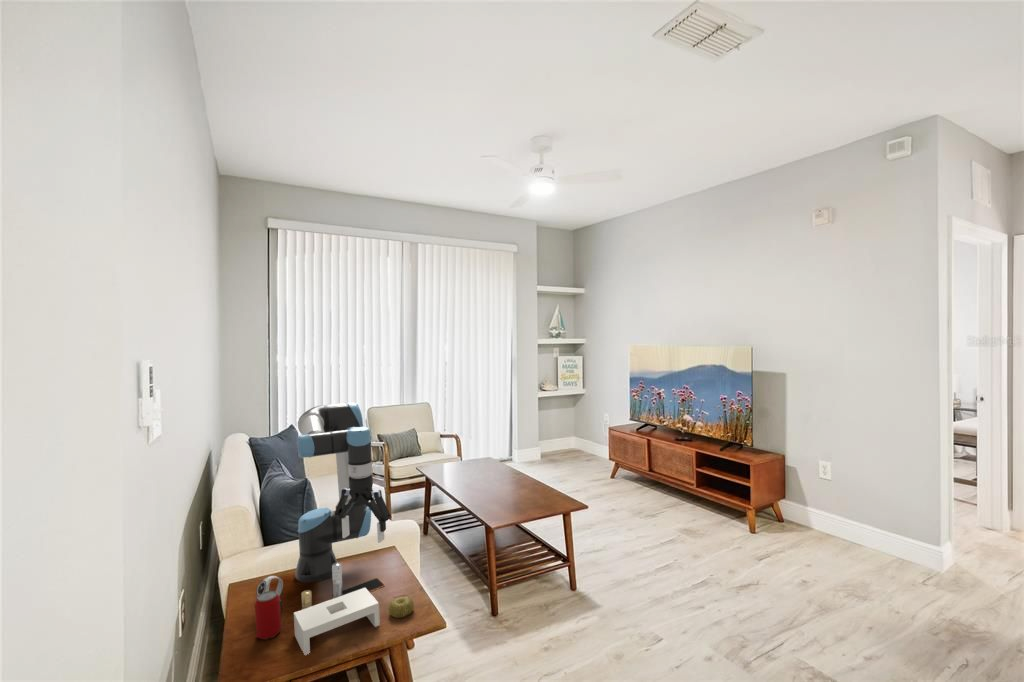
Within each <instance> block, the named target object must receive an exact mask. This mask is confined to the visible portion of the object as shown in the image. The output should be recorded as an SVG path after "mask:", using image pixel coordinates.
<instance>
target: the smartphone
mask: <svg viewBox="0 0 1024 682" xmlns="http://www.w3.org/2000/svg"><path fill="white" fill-rule="evenodd" d="M384 585H385V583H383V582H382V581H381V580H380V579H379V578H378V577H376V578H373V579H369V580H368V581H364V582H362V583H359V584H357V585H353V586H351V587H349V588H345V589H343V595H345V594H348V593H351V592H354V591H357V590H359V589H362V588H366V589H367V590H368V591H369V592H370V591H372V590H375V589H377V588H380V587H382V586H384ZM382 588H383V587H382ZM380 589H381V588H380ZM375 591H376V590H375ZM372 592H373V591H372ZM370 593H371V592H370ZM331 595H332V597H333V593H332V594H331Z"/></svg>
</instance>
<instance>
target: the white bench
mask: <svg viewBox="0 0 1024 682" xmlns="http://www.w3.org/2000/svg"><path fill="white" fill-rule="evenodd" d="M379 605H380V604H379V602H378V600H377V599H376V598H375V597H374V595H372V593H371V592H369V591H368V590H367V589H366V588H362V589H359V590H357V591H354V592H351V593H348V594H345V595H342V596H340V597H337V598H334V597H333V598H332V599H328V600H325V601H323V602H320V603H318V604H314V605H312V606H311V607H308V608H306V609H303V610H302V609H301V610H298V611H295V612H293V624H294V625H293V626H294V627H293V628H294V630H293V631H294V637H295V639H296V641H297V643H298V645H299V647H300V650H301V651H303V652H302V653H304V654H303V655H305V656H307V654H308V655H310V654H311V646H310V645H311V644H310V643H311V642H310V638H313V637H315V636H318V635H320V634H323V633H326V632H328V631H331V630H334V629H336V628H338V627H341V626H343V625H346V624H349V623H352V622H354V621H356V620H359V619H362V618H365V617H366V618H367V619H368V620H369V621H370V623H371V624H372V626H373V627H374V628H377V627H379V626H380V624H381V622H380V606H379ZM309 653H310V654H309Z"/></svg>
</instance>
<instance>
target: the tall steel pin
mask: <svg viewBox="0 0 1024 682" xmlns="http://www.w3.org/2000/svg"><path fill="white" fill-rule="evenodd" d="M331 577H332V590H333V591H332V592H333V593H332V594H333V596H332V597H333V599H334V598H337V597H340V596H342V595H343V590H344V589H343V570H342V562H338V561H337V563H334V564H332V576H331Z"/></svg>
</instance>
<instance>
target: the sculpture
mask: <svg viewBox="0 0 1024 682" xmlns="http://www.w3.org/2000/svg"><path fill="white" fill-rule="evenodd" d="M389 603H390V604H389V605H388V612H389V614H390V616H392V617H393V618H398V619H400V618H405V617H408V616H409V615H410V614H412V612H413V611H414V607H415V602H414V601H413V599H412V598H410V597H409V596H399V597H396V598H394V599H393V600H392V601H391V602H389Z"/></svg>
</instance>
